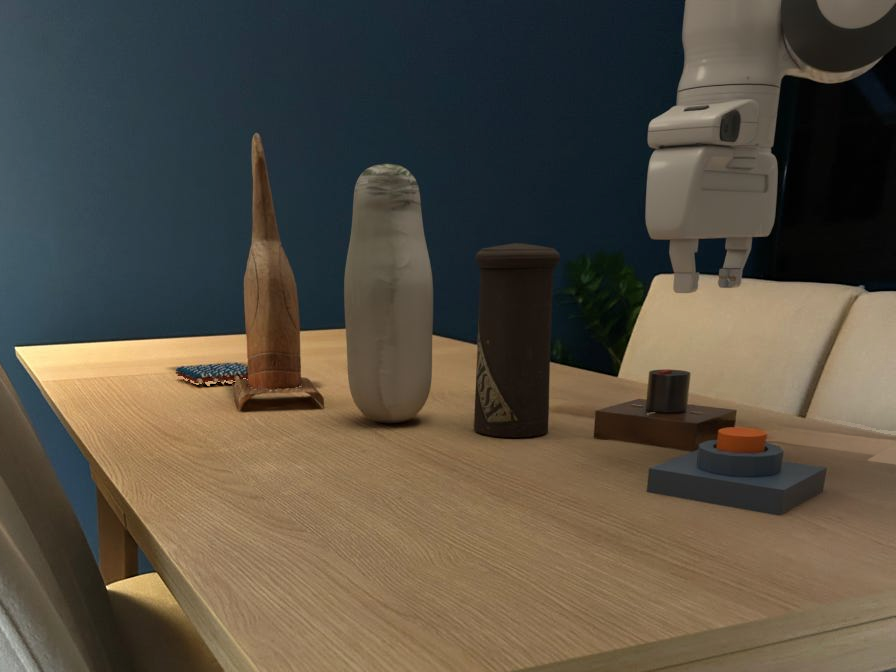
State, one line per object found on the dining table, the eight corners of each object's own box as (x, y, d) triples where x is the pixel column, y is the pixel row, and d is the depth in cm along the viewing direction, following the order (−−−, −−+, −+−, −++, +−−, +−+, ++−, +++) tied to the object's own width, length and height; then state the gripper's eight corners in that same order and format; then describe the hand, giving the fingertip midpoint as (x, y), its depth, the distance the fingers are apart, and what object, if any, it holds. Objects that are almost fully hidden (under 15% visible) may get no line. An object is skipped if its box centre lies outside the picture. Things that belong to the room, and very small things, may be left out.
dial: (657, 404, 110) (661, 365, 108) (693, 409, 107) (698, 368, 105) (638, 410, 106) (641, 369, 105) (675, 414, 104) (679, 373, 102)
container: (478, 423, 116) (482, 242, 108) (553, 425, 114) (563, 242, 106) (466, 437, 108) (470, 244, 100) (547, 440, 106) (557, 244, 99)
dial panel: (733, 437, 108) (737, 408, 107) (693, 452, 101) (697, 421, 100) (636, 424, 115) (638, 397, 114) (593, 437, 108) (595, 408, 107)
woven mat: (264, 382, 146) (263, 369, 145) (196, 388, 141) (195, 374, 140) (239, 374, 154) (238, 361, 154) (174, 379, 149) (173, 366, 149)
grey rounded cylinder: (442, 426, 114) (443, 161, 103) (356, 431, 112) (348, 160, 101) (421, 412, 123) (420, 166, 112) (341, 416, 120) (332, 166, 109)
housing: (822, 491, 86) (830, 447, 84) (780, 516, 79) (787, 467, 77) (696, 471, 93) (700, 430, 91) (646, 492, 86) (650, 447, 84)
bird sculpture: (312, 394, 136) (300, 138, 123) (327, 408, 125) (316, 130, 113) (231, 398, 133) (211, 136, 120) (240, 413, 123) (219, 128, 110)
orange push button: (771, 451, 85) (774, 430, 84) (753, 458, 82) (755, 438, 81) (727, 444, 87) (729, 425, 86) (708, 452, 84) (710, 432, 83)
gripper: (739, 137, 97) (723, 284, 102) (637, 123, 83) (625, 294, 88) (802, 132, 93) (782, 285, 98) (707, 117, 79) (690, 297, 84)
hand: (707, 290), depth 93 cm, fingers open, 8 cm apart
